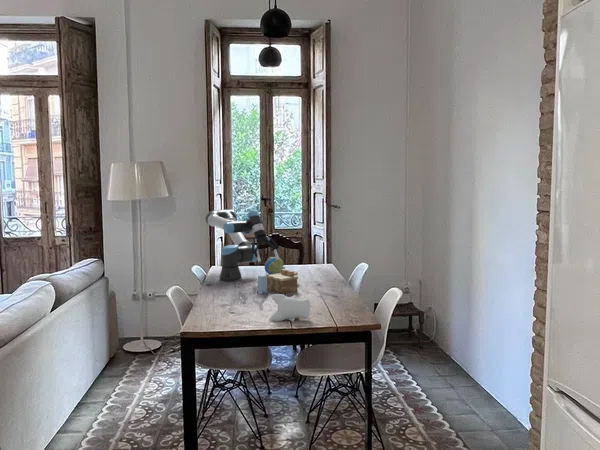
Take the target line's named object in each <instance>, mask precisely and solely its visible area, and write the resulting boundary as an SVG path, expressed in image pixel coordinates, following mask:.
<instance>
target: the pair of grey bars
mask: <svg viewBox="0 0 600 450" xmlns="http://www.w3.org/2000/svg"><path fill="white" fill-rule="evenodd" d="M256 293H257V294H259V293H258V290H256ZM269 294H270V292H269V291H267V292H263V293H262V296H265V295H269Z"/></svg>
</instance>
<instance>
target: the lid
mask: <svg viewBox="0 0 600 450" xmlns="http://www.w3.org/2000/svg"><path fill="white" fill-rule="evenodd" d="M265 275H266V276H267V277H268V278H272V279H275V280H279V281H285V280H292V279H297V280H298V279H299V276H298V277H297V276H294V270H291V269H286V268H285V269H281V273H278V274H265Z"/></svg>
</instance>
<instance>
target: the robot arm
mask: <svg viewBox="0 0 600 450" xmlns="http://www.w3.org/2000/svg"><path fill="white" fill-rule="evenodd" d="M247 218H248V219H246V220H245V221H244V220H243V221H242V220H241V221H238V215H237V213H236V211H235V210H233V209H229V208H228V209H227V208H226V209H214V210H210V211H208V212H207V213H206V215H205V218H204V220H205V223H206V224H207V225H208V226H210V227H216V228H219V229H221V230H223V232H224V233H225V234H228V235H229V237H230V238H231V240H232V241H233V243H234V244H228V245H225V246H222V248H221V251H220V252H221V253H220V255H221V271H220V273H219V277H218V279H220V280H219V281H221V280H223V282H235V280H237V281H240V279H241V280H242V273H241V270H240V267H239V265H240V264H244V263H254V262H256V261H257V262H258V263H261V256H260V254H259V248H260V245H261V246H262V245H266V246H267V247H270V248H271V249H272V250H273V253H274V257H276V260H277V259H278V258H280V256H279V251H278V250H279V248H280V246H279V245H278V244H277V243H276V242H275V240H274V239H273V238H272V236H268V237H267V233H266V231H265V228H264V225H263V221H262V219H261V216H260V214H259V211H258V210H256V209H255V210H254V209H253V210H250V211H249V212H247ZM251 233H253V235H254V238H252V239H251V241H249V240H247V238H246V237H245V235H250V234H251ZM244 234H245V235H244ZM256 243H257V244H256Z"/></svg>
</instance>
